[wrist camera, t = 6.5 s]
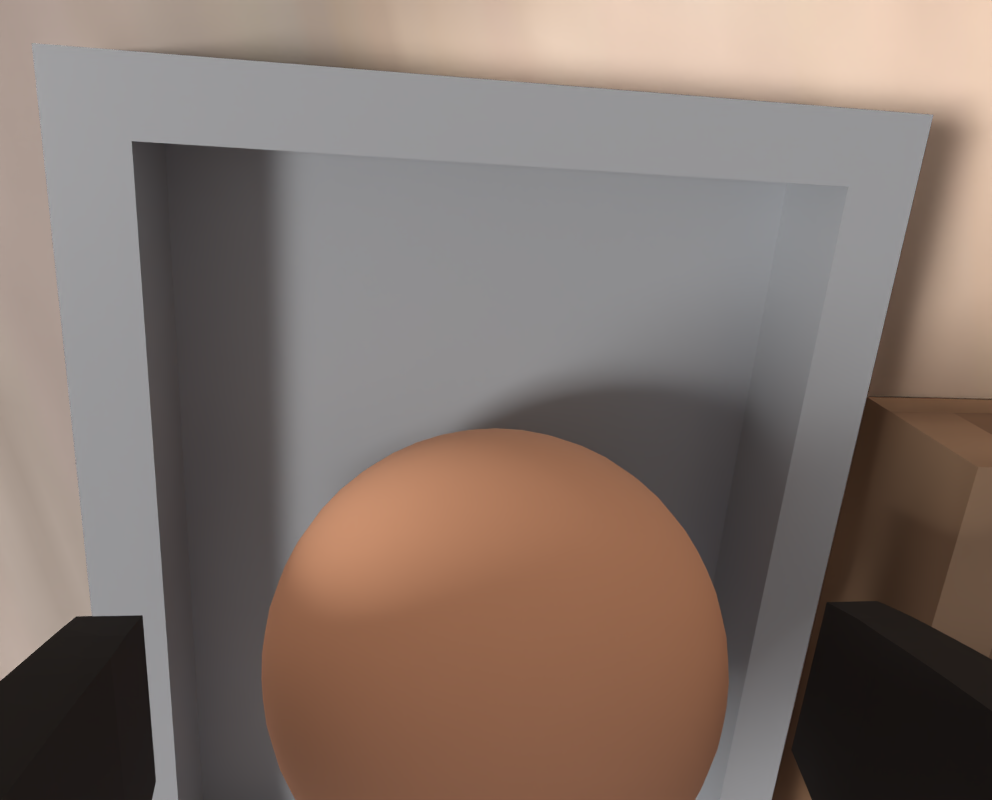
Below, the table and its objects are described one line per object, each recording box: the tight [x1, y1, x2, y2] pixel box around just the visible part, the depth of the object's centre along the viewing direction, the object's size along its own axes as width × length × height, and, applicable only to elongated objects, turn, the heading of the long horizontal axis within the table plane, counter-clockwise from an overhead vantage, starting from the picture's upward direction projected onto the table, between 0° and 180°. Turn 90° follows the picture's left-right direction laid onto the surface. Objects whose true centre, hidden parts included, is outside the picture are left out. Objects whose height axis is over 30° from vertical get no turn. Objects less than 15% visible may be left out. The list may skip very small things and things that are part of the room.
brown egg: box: [261, 428, 729, 800], centre depth 9 cm, size 5×5×5 cm
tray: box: [32, 43, 933, 800], centre depth 11 cm, size 12×9×2 cm
